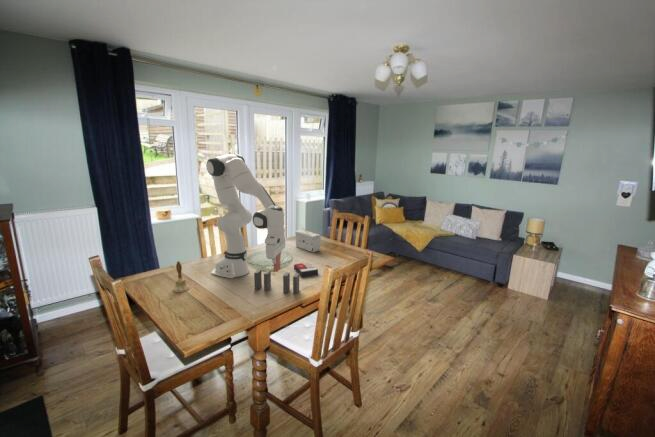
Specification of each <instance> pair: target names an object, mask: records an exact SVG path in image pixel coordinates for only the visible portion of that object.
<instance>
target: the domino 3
mask: <svg viewBox="0 0 655 437" xmlns="http://www.w3.org/2000/svg"><path fill="white" fill-rule="evenodd" d="M276 260H277V262H276V264H273V272H275V273H276V272H277V273H278V272H279V271H280V269H281V258H280V253H279V254H278V255H277V256H276Z"/></svg>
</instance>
